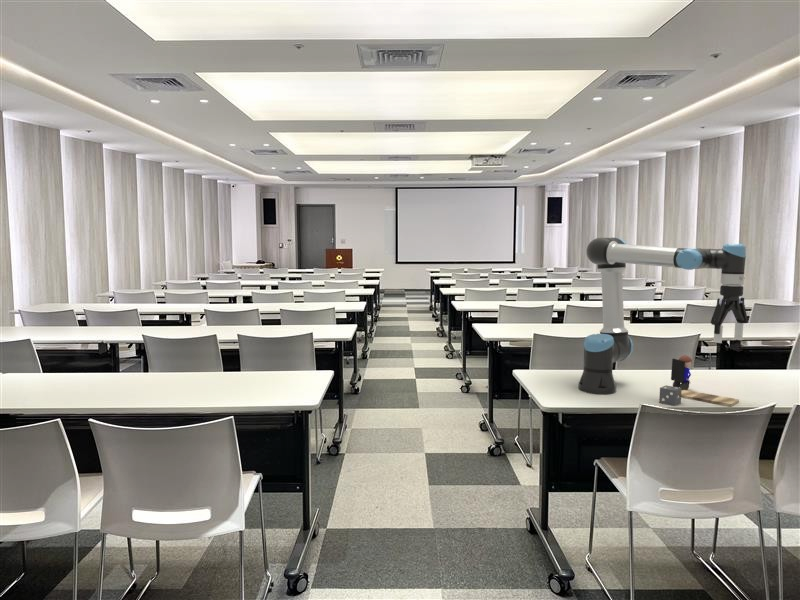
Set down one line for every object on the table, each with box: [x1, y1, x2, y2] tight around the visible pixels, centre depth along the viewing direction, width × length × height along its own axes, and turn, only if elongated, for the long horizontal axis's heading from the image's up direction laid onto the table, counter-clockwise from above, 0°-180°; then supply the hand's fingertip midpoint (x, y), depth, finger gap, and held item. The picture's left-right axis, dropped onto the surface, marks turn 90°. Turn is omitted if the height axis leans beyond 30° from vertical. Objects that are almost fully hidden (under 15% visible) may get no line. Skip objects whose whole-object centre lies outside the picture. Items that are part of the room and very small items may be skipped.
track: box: [681, 389, 740, 408], centre depth 234 cm, size 21×10×1 cm, turn 44°
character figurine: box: [670, 355, 693, 391], centre depth 247 cm, size 8×7×15 cm
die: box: [658, 385, 682, 406], centre depth 228 cm, size 6×6×6 cm
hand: (728, 341), depth 220 cm, fingers open, 13 cm apart
